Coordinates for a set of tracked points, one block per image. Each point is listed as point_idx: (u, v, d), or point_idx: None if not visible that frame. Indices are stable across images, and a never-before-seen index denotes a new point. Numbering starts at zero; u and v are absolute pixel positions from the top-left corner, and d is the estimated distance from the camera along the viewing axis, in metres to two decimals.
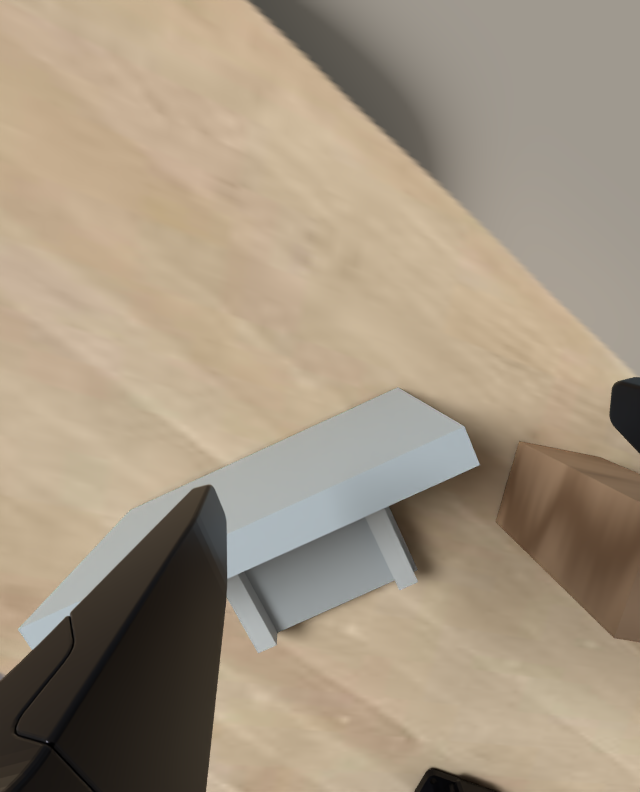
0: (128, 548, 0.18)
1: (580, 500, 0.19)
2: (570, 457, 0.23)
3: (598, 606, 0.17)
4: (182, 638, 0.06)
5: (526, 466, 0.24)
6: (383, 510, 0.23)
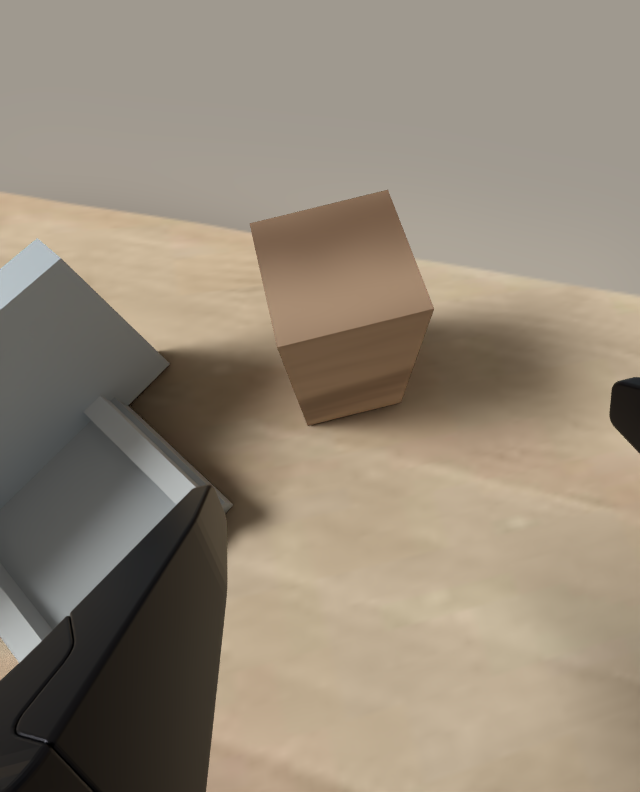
0: None
1: None
2: None
3: None
4: (182, 638, 0.06)
5: None
6: (145, 442, 0.21)
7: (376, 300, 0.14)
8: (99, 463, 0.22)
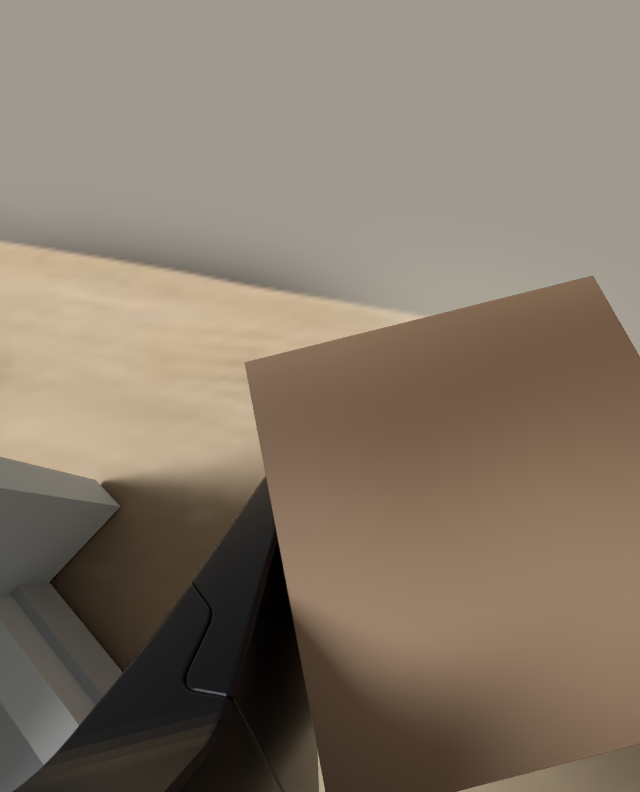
0: None
1: None
2: None
3: None
4: None
5: None
6: (57, 703, 0.11)
7: (633, 647, 0.05)
8: None
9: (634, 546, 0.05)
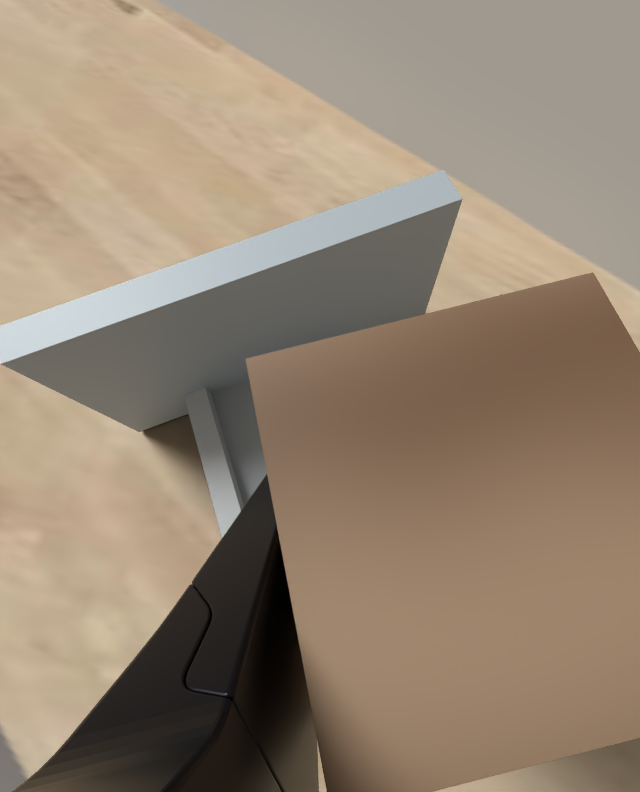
0: None
1: None
2: None
3: None
4: (291, 610, 0.06)
5: None
6: None
7: (633, 642, 0.05)
8: None
9: (634, 541, 0.05)
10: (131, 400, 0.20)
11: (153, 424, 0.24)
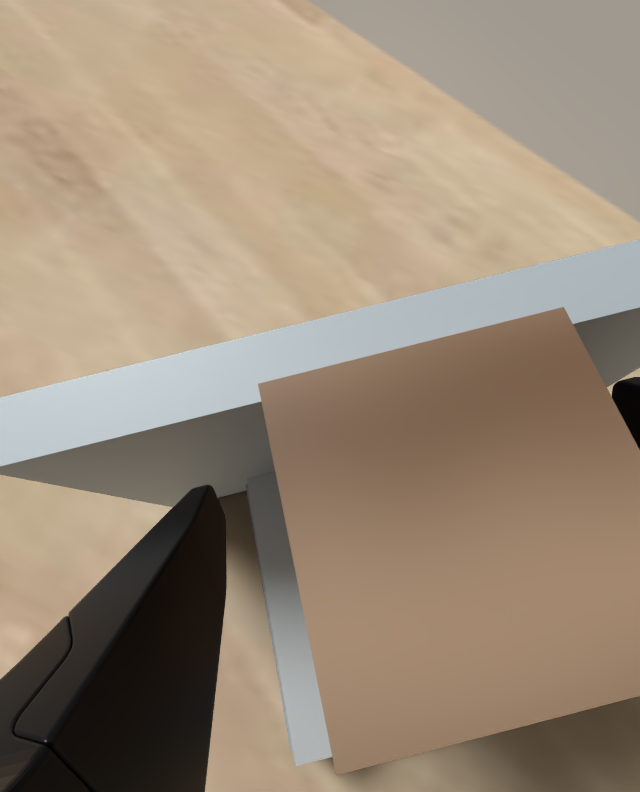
0: None
1: None
2: None
3: None
4: (181, 639, 0.06)
5: None
6: None
7: (589, 628, 0.05)
8: None
9: (592, 544, 0.06)
10: (177, 487, 0.14)
11: None
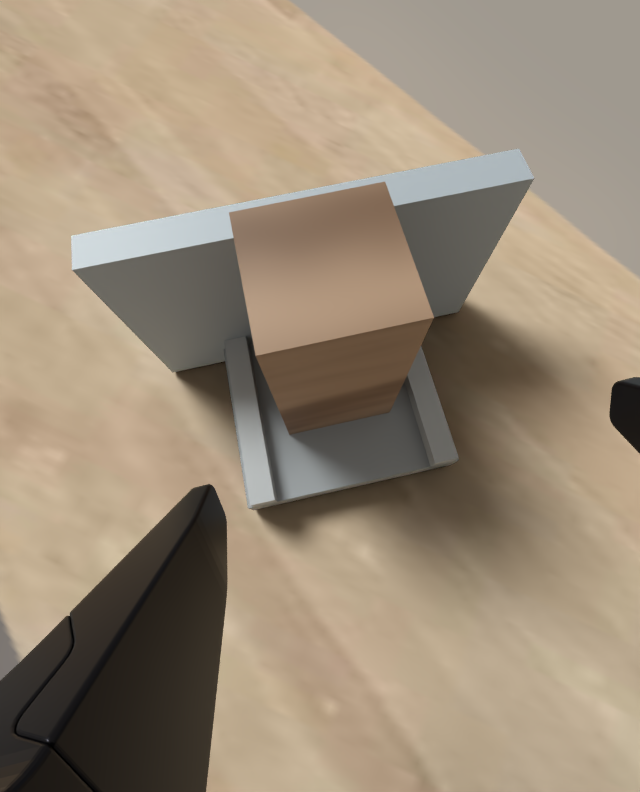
0: None
1: None
2: None
3: None
4: (182, 638, 0.06)
5: None
6: (426, 366, 0.21)
7: (370, 306, 0.12)
8: None
9: (377, 276, 0.13)
10: (176, 336, 0.21)
11: (187, 366, 0.24)
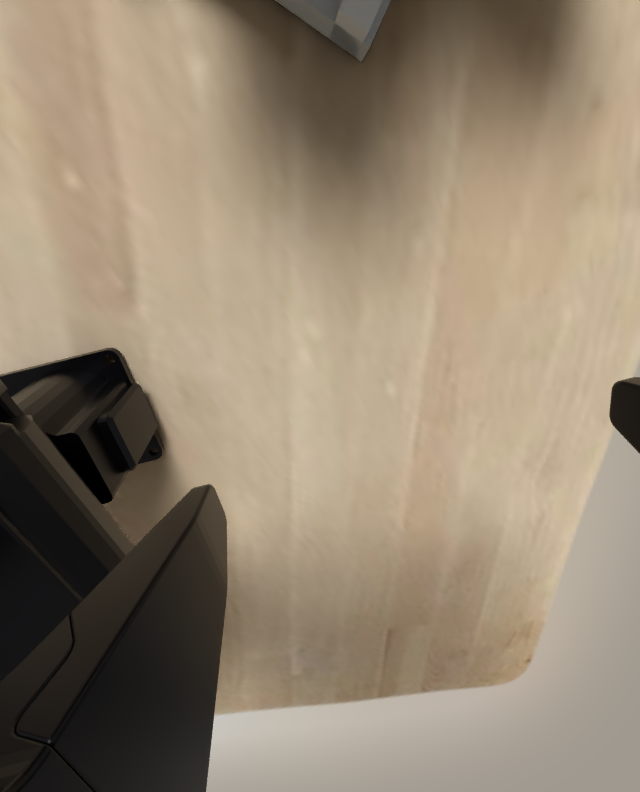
0: None
1: None
2: None
3: None
4: (182, 638, 0.06)
5: None
6: None
7: None
8: None
9: None
10: None
11: None
